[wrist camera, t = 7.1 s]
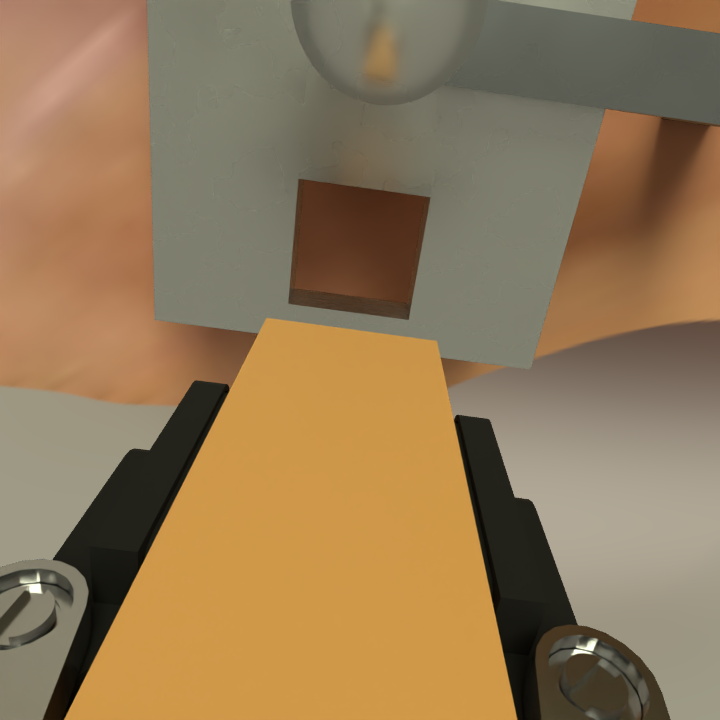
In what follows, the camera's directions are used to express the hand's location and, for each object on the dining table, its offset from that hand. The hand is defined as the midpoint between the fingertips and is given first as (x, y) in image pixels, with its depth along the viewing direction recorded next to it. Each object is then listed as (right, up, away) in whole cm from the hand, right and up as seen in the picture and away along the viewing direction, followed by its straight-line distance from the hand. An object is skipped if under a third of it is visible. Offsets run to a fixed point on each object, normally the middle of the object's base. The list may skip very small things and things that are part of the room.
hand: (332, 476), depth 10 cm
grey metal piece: (+1, +14, +18) cm, 23 cm away
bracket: (+10, +15, +17) cm, 25 cm away
